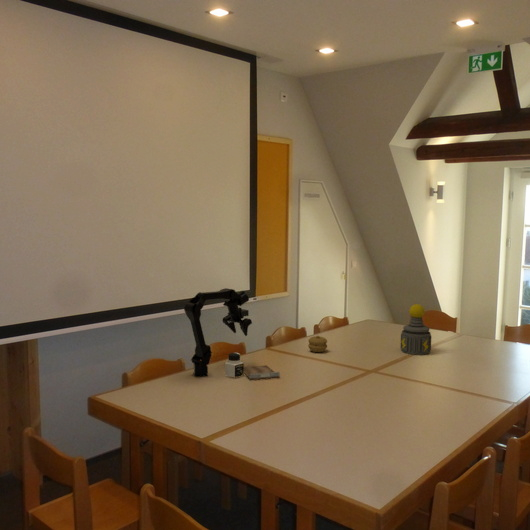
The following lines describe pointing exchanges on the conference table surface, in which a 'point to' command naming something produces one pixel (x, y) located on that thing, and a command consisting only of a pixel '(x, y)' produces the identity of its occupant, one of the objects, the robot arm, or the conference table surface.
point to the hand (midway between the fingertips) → (240, 334)
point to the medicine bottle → (234, 366)
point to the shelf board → (258, 371)
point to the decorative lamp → (416, 334)
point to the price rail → (264, 375)
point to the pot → (317, 344)
